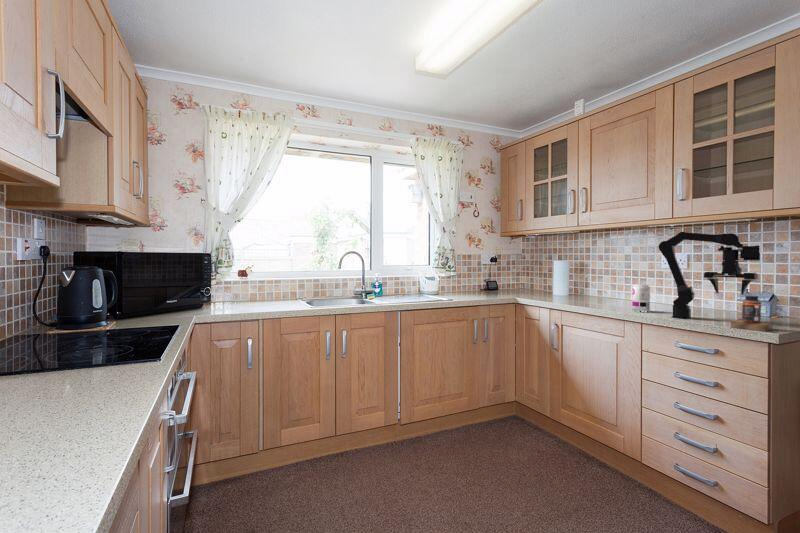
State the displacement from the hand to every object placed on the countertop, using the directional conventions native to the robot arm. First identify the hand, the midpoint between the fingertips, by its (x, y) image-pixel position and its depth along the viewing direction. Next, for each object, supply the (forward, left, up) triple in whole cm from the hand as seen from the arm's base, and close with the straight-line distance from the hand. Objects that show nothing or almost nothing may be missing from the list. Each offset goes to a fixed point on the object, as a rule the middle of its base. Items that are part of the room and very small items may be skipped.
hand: (729, 294), depth 185 cm
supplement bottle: (+11, -13, -11) cm, 20 cm away
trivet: (+11, -13, -13) cm, 21 cm away
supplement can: (-40, +4, -13) cm, 42 cm away
